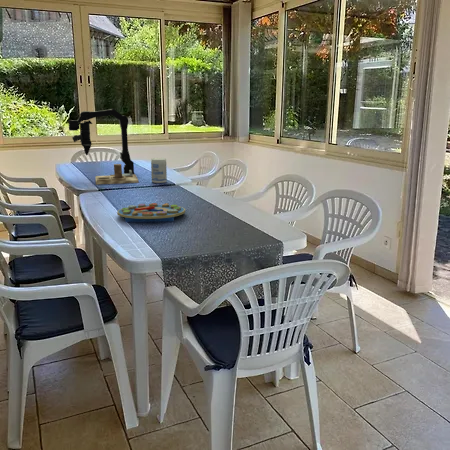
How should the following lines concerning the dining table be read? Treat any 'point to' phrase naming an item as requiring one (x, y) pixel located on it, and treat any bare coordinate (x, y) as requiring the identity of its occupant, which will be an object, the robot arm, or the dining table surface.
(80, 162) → the dining table surface
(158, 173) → the supplement tub
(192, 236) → the dining table surface
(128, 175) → the slide cover
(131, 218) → the shape sorting clock
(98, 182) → the puzzle board
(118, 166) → the walnut block
